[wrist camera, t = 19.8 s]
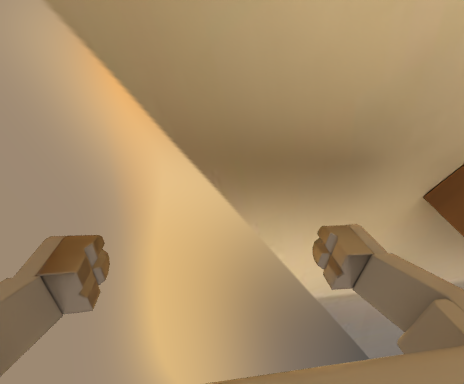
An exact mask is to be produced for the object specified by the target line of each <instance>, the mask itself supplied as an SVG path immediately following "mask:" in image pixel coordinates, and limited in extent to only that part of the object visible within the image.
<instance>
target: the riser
mask: <svg viewBox="0 0 464 384" xmlns="http://www.w3.org/2000/svg"><path fill="white" fill-rule="evenodd" d="M424 199H425V200H426V201H427V202H428V203H429V204H430V205H431V206H433V207H434V208H435V209H436V210H437V211H438V212H439V213H440V214H441V215H442V216H443V217H444V218H445V219H446V220H447V221H448V222H449V223H450V224H451V225H452V226H453V227H454V228H455V229H456V230H457V231H458V232H459V233H460V234H461V235H462V236H463V237H464V165H463V166H462V167H461V168H459V169H458V170H457V171H456V172H454V173H453V174H452V175H451V176H449V177H448V178H447V179H446V180H444V181H443V182H442V183H440V184H439V185H438V186H437V187H435V188H434V189H433V190H432V191H430V192H429V193H428V194H427V195H425V196H424Z"/></svg>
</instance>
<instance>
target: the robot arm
mask: <svg viewBox="0 0 464 384" xmlns="http://www.w3.org/2000/svg"><path fill="white" fill-rule="evenodd" d="M318 236H319V239H317V240H316V241H315V242H314V245H313V256H314V260H315V262H316V263H317V265H318V266H319V267H321V268H322V269H324V272H323V275H324V277H325V279H326V280H327V282H328V284H329V285H330V287H331V289H332V290H333V289H350V288H353V290H354V291H355V292H356V293H357V294H359V295H360V296H361V297H362V298H364V299H365V300H366V301H367V302H368V303H370V304H371V305H372V306H373V307H375V308H376V309H377V310H378V311H379V312H381V313H382V314H383V315H384V316H386V317H387V318H388V319H389V320H390V321H392V322H393V323H394V324H395V325H397V326H398V327H399V328H400V329H401V330H403V331H404V332H405V333H404V334H403V335H402V336H401V337H400V338H399V339H398V343H397V345H398V346H399V348H400V349H401V350H402V352H403V353H404V354H403V355H396V356H389V357H382V358H375V359H369V360H362V361H356V362H349V363H341V364H335V365H328V366H321V367H314V368H308V369H301V370H295V371H288V372H280V373H273V374H267V375H260V376H253V377H247V378H240V379H233V380H226V381H219V382H212V383H206V384H464V290H463V289H461V288H459V287H457V286H455V285H453V284H451V283H449V282H447V281H445V280H443V279H441V278H439V277H437V276H436V275H434V274H432V273H430V272H428V271H426V270H424V269H422V268H420V267H418V266H416V265H414V264H412V263H410V262H408V261H406V260H404V259H402V258H400V257H398V256H396V255H394V254H392V253H391V254H388V253H387V252H386V251H385V250H384V249H383V248H382V247H381V246H380V244H379V243H378V242H377V241H376V240H375V239H374V238H373V237H372V236H371V235H370V234H369V233H368V232H367V231H366V230H365V229H364V228H363V227H362V226H360V225H358V224H352V225H336V226H322V227H321V228H320V229H319V231H318ZM103 246H104V240H103V238H102V236H99V235H85V236H51V237H49V238H47V239H45V240H44V241H43V243H42V244H41V245H40V246H39V247H38V248H37V250H36V251H35V252H34V253H33V255H32V256H31V257H30V258H29V259H28V260H27V262H26V263H25V264H24V265H23V266H22V268H21V269H20V270H19V271H18V272H17V273H16V275H15V276H14V277H13V278H6V279H5V280H3V281H1V282H0V377H1V376H2V375H3V374H4V373H5V372H6V371H7V370H8V369H9V368H10V367H11V366H12V365H13V364H14V363H15V362H16V361H17V360H18V359H19V358H20V357H21V356H22V355H23V354H24V353H25V352H26V351H27V350H28V349H29V348H30V347H32V346H33V344H35V343H36V342H37V341H38V340H39V339H40V337H42V336H43V335H44V334H45V333H46V332H47V331H48V330H49V329H50V328H51V327H52V326H53V325H54V324H55V323H56V322H57V321H58V320H59V319H60V318H61V317H62V316H63V315H62V314H69V313H79V312H87V311H93V309H94V306H95V304H96V302H97V299H98V297H99V294H100V289H99V285H100V284H101V283H102V282H104V281H105V280H106V277H107V275H108V271H109V265H110V263H109V256H108V253H107V252H106V251H104V250H103V249H102V248H103Z"/></svg>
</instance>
